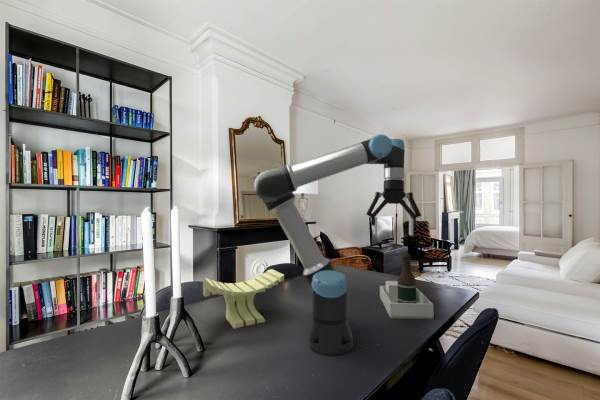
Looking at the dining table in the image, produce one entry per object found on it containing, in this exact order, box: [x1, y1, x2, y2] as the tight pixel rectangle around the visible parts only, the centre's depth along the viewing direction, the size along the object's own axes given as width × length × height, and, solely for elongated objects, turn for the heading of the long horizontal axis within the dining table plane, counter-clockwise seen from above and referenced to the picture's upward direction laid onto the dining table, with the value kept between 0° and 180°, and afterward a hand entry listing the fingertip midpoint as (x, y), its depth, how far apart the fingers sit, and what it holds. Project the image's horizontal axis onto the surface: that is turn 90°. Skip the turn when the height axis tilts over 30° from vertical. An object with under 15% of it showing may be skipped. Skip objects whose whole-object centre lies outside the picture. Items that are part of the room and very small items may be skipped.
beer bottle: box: [397, 253, 417, 303], centre depth 126 cm, size 8×8×24 cm
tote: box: [379, 285, 435, 320], centre depth 132 cm, size 17×26×6 cm, turn 174°
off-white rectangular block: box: [385, 280, 398, 303], centre depth 139 cm, size 12×8×8 cm, turn 84°
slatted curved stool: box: [202, 268, 285, 330], centre depth 123 cm, size 30×16×18 cm, turn 119°
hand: (393, 234), depth 113 cm, fingers open, 13 cm apart
